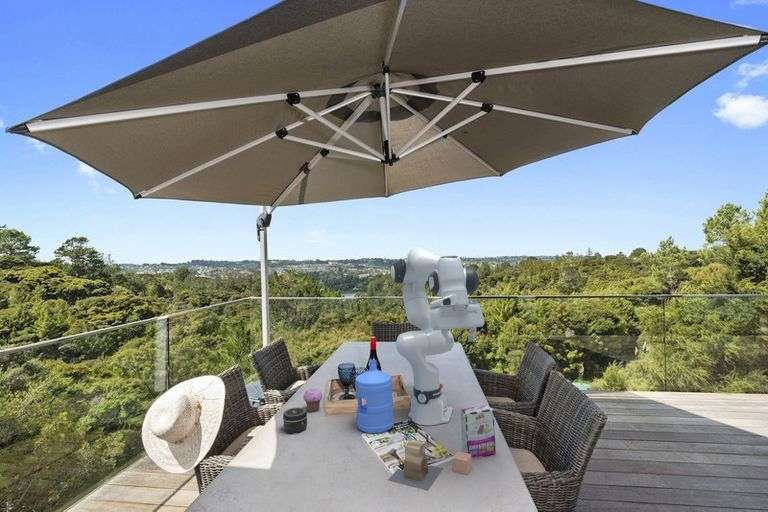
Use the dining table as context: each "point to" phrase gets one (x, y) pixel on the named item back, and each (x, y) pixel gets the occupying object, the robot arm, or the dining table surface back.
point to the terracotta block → (462, 462)
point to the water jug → (374, 400)
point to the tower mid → (415, 451)
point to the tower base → (416, 469)
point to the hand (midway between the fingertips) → (460, 342)
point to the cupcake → (312, 399)
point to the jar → (295, 420)
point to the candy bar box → (478, 431)
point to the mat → (423, 484)
